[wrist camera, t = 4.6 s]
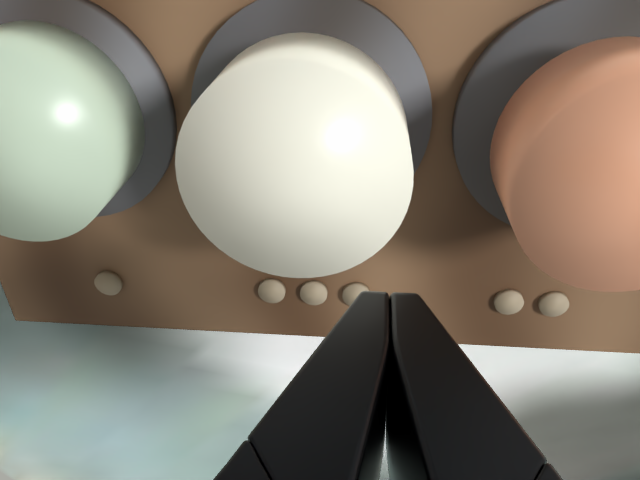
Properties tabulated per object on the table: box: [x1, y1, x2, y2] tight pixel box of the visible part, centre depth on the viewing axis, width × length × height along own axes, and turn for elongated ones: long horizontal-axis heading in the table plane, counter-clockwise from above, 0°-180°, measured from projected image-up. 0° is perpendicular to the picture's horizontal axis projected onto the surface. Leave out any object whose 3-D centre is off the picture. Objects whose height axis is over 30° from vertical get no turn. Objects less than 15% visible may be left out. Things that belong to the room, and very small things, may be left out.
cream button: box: [175, 32, 414, 278], centre depth 12 cm, size 5×5×2 cm
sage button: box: [0, 20, 145, 242], centre depth 14 cm, size 5×5×2 cm
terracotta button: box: [490, 36, 640, 292], centre depth 12 cm, size 5×5×2 cm
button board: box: [0, 0, 640, 353], centre depth 16 cm, size 22×13×2 cm, turn 90°
